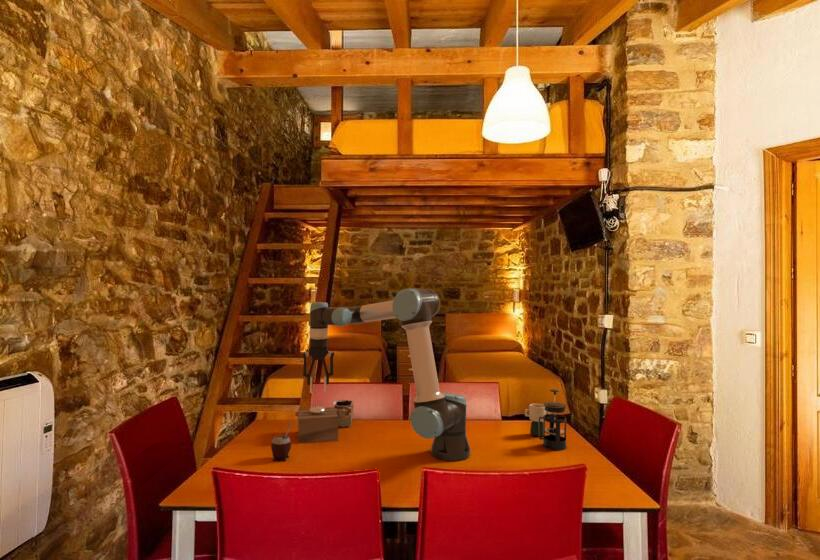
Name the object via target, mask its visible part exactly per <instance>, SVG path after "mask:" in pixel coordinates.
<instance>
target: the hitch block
mask: <svg viewBox="0 0 820 560" xmlns="http://www.w3.org/2000/svg"><path fill="white" fill-rule="evenodd" d="M310 408H311V407H309V408H298V409H297V410H298V411H297V412H298V413H297V414H298V417H297V419H298V423H297V424H298V425H297V435H298V436H297V439H298V440H297V441H298V444H308V443H311V444H312V443H324V442H338V441H339V427H338V415H337V412H336V409H335V407H334V406H332V407H325V413H324V414H320V415H313V414H310Z"/></svg>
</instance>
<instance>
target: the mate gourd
mask: <svg viewBox="0 0 820 560" xmlns="http://www.w3.org/2000/svg"><path fill="white" fill-rule="evenodd" d="M297 419H298V418H296V419H294V420H292V421H291V422H290V423H289V424H288V427H287V430H286V432H285V435H277V436H274V437H273V439H272V441H271V445H270V447H271V454H272V458H273V459H272V461H273V462H277V461H282V462H284V463H285V462H286V461H287V459H288V458H289V457H290V456H289V453H290V451H291V448H292V443H291V439H290V437H289V436H288V434H289V431H290V428H291V426H292V425H293V423H295V422H296V421H297Z"/></svg>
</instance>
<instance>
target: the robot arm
mask: <svg viewBox="0 0 820 560" xmlns="http://www.w3.org/2000/svg"><path fill="white" fill-rule="evenodd" d="M309 308H310V309H309V349H308V351H306V352H302V357H303V366H302V367H303V368H302V369H303V370H302V375H303V377H305V378H307V386H309V393H310V394H312V393H313V377H312V372H313V370H314V365H315V363H316V361H318V360H320V361H321V362H322V365H323V370H324V372H325V375H324V376H323V393H325V394H326V393H327V385H329V384H330V377H331V376H333V375H334V356H335V352H334V351H330V350H329V349H328V332H329V330H328V329H329V327H328V326H336V327H346V326H348V325H358V324H364V323H371V322H377V321H383V320H384V321H385V320H392V319H397V320H399V321H400V326H401V328H402V329H403V330H405V332H406V337H407V338H406V339H407V345H408V351H409V356H410V357H409V358H410V362H411V368H412V373H413V374H412V375H413V380H414V386H415V392H416V397H415V398H414V399H413V406H414V409H413V411H412V412H411V414H410V424H411V426H412V429H413V431H414V432H415V433H416V434H417V435H419V437H422V438H424V439H433V441H432V443H431V446H430V454H431V456H432V457H433V458H436V459H439V460H441V461H442V460H443V461H450V462H451V461H455V462H456V461H457V462H458V461H462V460H467V459H468V458H470V456H471V447H470V444H469V441H468V437H467V406H468V404H467V399H466V397H465V396H464V395H462V394H457V393H451V392H450V393H448V392H447V393H446V392H441V391H440V390H441V389H440V385H439V383H440V382H439V379H438V372H437V366H436V361H435V354H434V349H433V344H432V337H431V333H430V332H431V330H430V325H431V324H432V323H433V319H432V318H433V317H435V316H436V315H437V314H438V313H439V311H440V308H441V299H440V296H439V295H438V294H437V292H435V291H434V290H432V289H431V288H413V287H412V288H410V287H409V288H404V289H402V290H400V291H398V292H397V293H396V295H395V296H394V298H393V299H392V300H386V301H382V302H376V303H371V304H370V303H368V304H364V305H358V306H350V307H349V306H345V307H344V306H343V307H341V306H340V307H331V306H330V307H329V303H328V302H321V301H320V302H319V301H316V302H311V304H310V307H309ZM309 356H310V357H311V358H312V359H311V361H310V362H311V363H310V364H309V368H308V373H307V363H308V357H309ZM327 356H329V370H328V367H327V363H326V360H325V359H326V357H327Z"/></svg>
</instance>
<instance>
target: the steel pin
mask: <svg viewBox="0 0 820 560" xmlns="http://www.w3.org/2000/svg"><path fill="white" fill-rule="evenodd" d="M309 408H310V414H313V415H320V414H324V413H325V408H326V407H325V406H322V405H321V406H320V405H319V406H318V405H317V406H311V407H309Z"/></svg>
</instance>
